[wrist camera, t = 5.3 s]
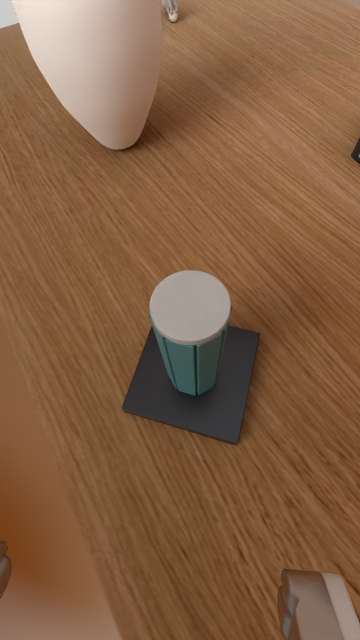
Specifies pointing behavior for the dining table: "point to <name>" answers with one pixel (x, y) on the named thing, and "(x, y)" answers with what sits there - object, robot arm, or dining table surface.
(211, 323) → the teal ribbed pillar
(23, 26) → the vase
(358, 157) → the camera
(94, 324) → the dining table surface
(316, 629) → the robot arm
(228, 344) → the black peg stand
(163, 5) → the dog figurine
